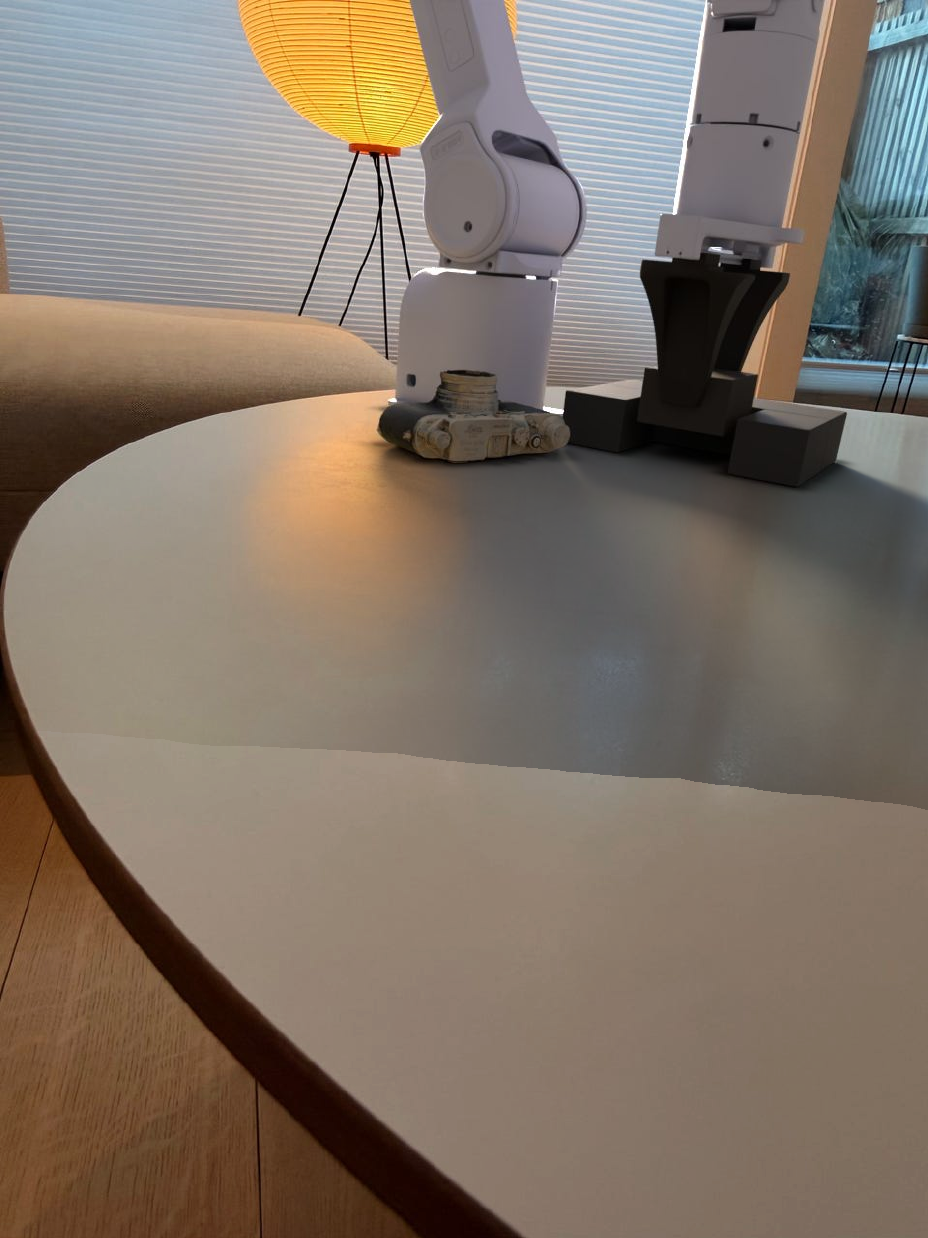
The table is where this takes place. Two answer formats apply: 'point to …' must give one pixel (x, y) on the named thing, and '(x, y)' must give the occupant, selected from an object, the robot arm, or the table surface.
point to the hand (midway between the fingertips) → (695, 399)
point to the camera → (471, 422)
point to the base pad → (760, 446)
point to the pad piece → (716, 411)
